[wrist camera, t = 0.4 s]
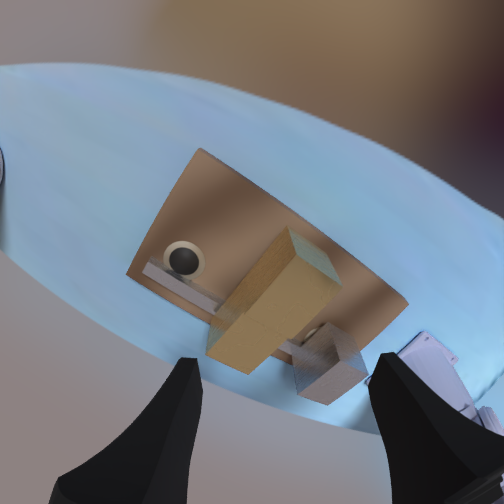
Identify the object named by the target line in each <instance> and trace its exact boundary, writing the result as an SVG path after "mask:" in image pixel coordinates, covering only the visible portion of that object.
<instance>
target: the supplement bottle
mask: <svg viewBox="0 0 504 504" xmlns="http://www.w3.org/2000/svg"><path fill="white" fill-rule="evenodd" d="M2 175H3V159H2V153H1V150H0V183H1V180H2Z"/></svg>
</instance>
